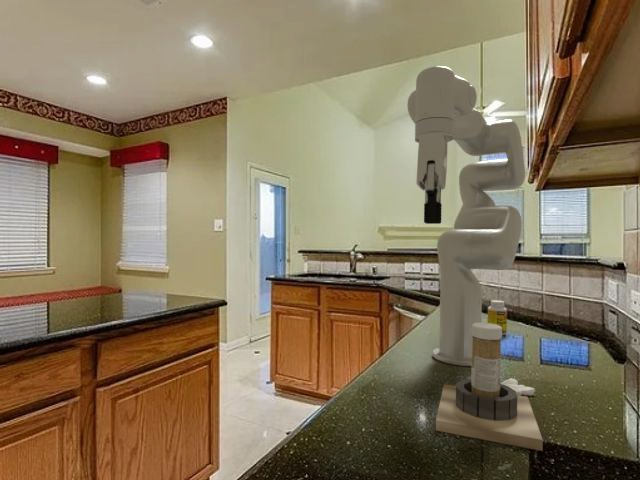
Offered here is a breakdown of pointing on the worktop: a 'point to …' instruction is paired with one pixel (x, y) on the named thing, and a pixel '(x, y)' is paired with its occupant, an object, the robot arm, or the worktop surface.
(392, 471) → the worktop surface
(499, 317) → the supplement bottle
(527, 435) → the socket board
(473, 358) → the sprinkles bottle
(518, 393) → the acanthus leaf ornament
